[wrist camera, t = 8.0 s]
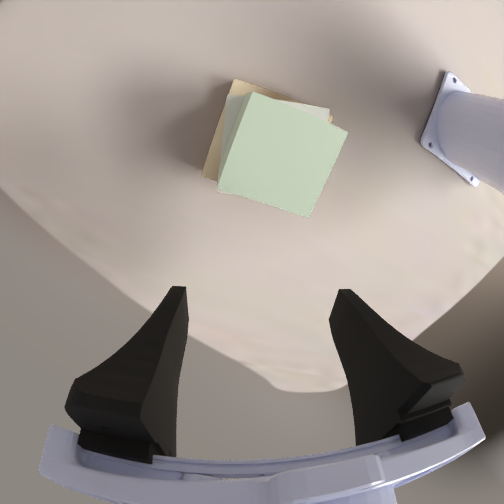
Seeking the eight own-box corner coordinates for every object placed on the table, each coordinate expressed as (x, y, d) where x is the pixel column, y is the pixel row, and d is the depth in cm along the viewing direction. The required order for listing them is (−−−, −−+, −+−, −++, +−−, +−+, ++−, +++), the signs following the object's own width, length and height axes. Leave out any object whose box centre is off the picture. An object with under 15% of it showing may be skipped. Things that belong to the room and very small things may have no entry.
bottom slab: (323, 114, 18) (333, 117, 17) (289, 195, 22) (295, 205, 20) (234, 80, 17) (234, 78, 15) (203, 168, 20) (200, 176, 18)
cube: (318, 122, 15) (348, 132, 11) (289, 188, 17) (308, 218, 13) (245, 93, 14) (252, 91, 10) (219, 164, 16) (216, 188, 12)
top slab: (318, 107, 16) (329, 108, 14) (305, 189, 19) (313, 201, 17) (227, 95, 16) (226, 94, 14) (219, 182, 19) (218, 192, 17)
